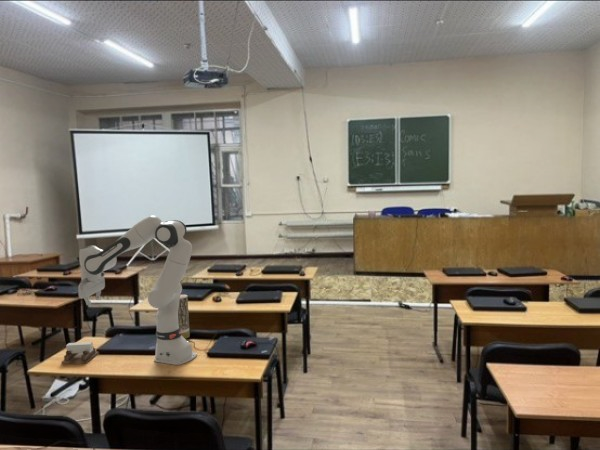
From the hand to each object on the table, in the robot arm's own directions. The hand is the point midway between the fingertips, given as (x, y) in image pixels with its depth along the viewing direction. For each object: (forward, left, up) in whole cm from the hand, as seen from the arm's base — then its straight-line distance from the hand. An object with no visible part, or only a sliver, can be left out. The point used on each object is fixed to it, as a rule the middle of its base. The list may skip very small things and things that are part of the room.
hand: (93, 301), depth 215 cm
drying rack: (+3, +8, -29) cm, 30 cm away
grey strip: (+3, +8, -25) cm, 27 cm away
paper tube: (-23, -39, -29) cm, 54 cm away
